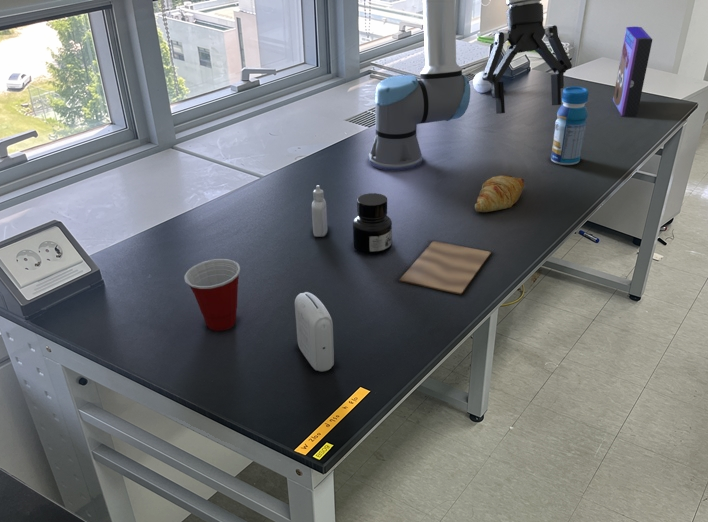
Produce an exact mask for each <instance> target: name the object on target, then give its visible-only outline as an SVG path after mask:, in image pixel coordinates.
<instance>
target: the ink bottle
mask: <svg viewBox="0 0 708 522" xmlns="http://www.w3.org/2000/svg"><path fill="white" fill-rule="evenodd" d="M356 208H357V209H356V210H357V216H356V217H355V218H354V219H353V222H352V234H353V235H352V237H353V239H352V241H353V249H354V250H355V251H356V252H358V253H360V254H362V255H368V256H377V255H382V254H384V253H387V252H388V251H389V250H391V248H392V244H393V243H392V242H393V221H392V219H391V218H390V217H389V216H388V197H387V196H386V195H384V194H381V193H378V192H377V193H376V192H375V193H373V192H369V193H364V194H361V195H359V196H358V197H357V201H356Z"/></svg>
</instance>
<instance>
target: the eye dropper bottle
mask: <svg viewBox="0 0 708 522" xmlns="http://www.w3.org/2000/svg"><path fill="white" fill-rule="evenodd" d="M312 195H313V196H312V198H313V200H312V202H311V219H312V233H313V236H314V237H315V238H318V237H320V238H321V237H322V238H323V237H325V236H326V235H327V234H328V230H329V229H328V211H327V201H326V199H325V197H324V195H325V194H324V190H323V189H321V187H320V185H319V184H317V185H316V187H315V189H313V191H312Z"/></svg>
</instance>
